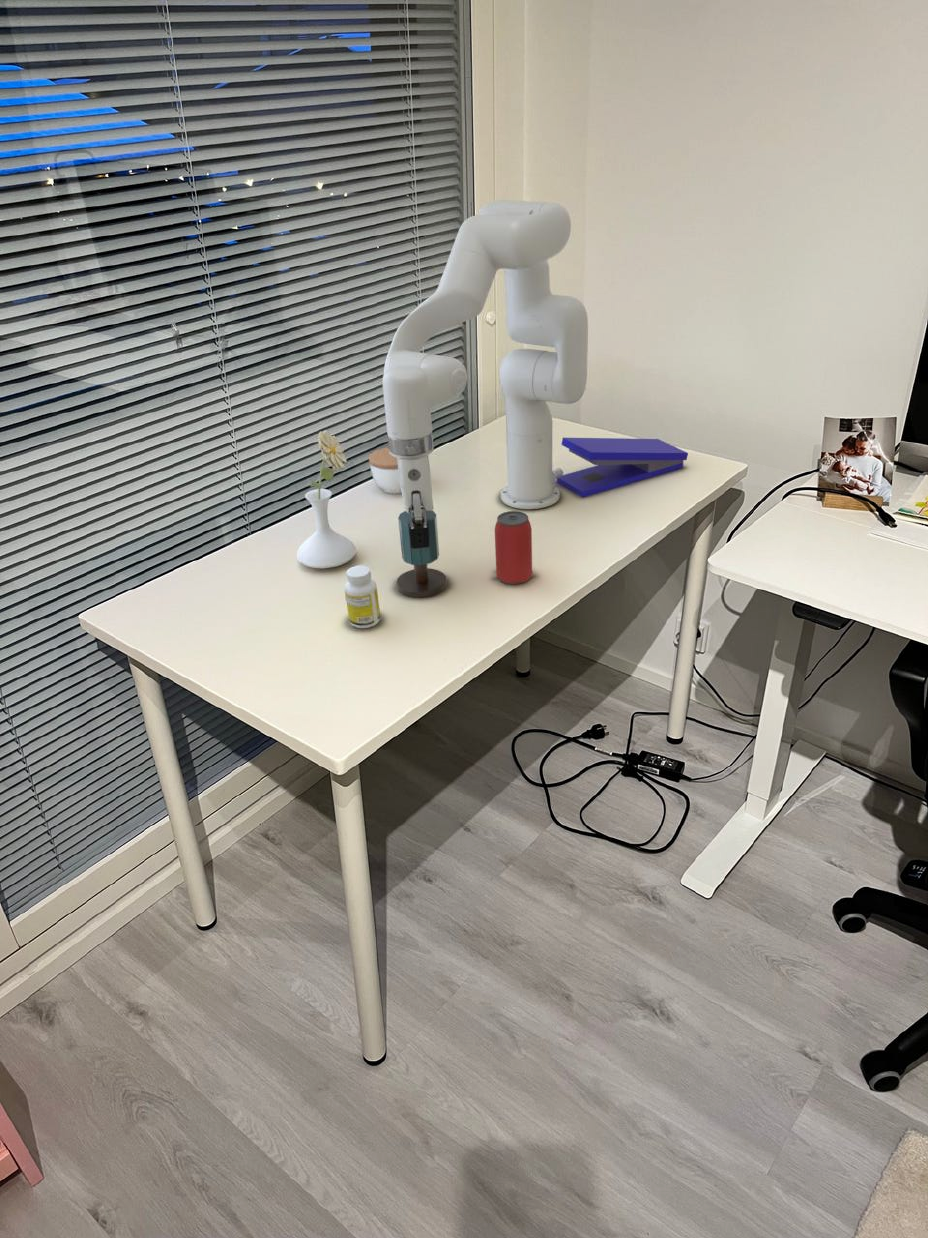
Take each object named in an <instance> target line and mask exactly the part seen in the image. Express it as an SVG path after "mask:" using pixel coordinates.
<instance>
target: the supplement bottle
mask: <svg viewBox="0 0 928 1238" xmlns="http://www.w3.org/2000/svg"><path fill="white" fill-rule="evenodd" d="M346 580H347V581H346V582H345V584H344V595H345V602H346V608H347V609H346V610H347V615H348V621H349V624H350V625H351V626H352V627H354V628H358V629H368V628H371V627H374V626H376V625H377V624H378V623H379V622H380V620H381V611H380V610H381V609H380V603H379V602H380V601H379V593H378V587H377V583H376V580H375V579H373V578H372V572H371V569H370V567H369V566H366V565H355V566H352V567H350V568H348V569H347V571H346Z"/></svg>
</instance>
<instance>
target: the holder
mask: <svg viewBox="0 0 928 1238" xmlns="http://www.w3.org/2000/svg"><path fill="white" fill-rule="evenodd" d="M447 584H448V581H447V576H446V574H445V573H444V572H442V571H441V570H438V569H435V568H429V567H428V564H425V565H413V569H410V570H408V571H405V572H403V573H402V574H400V575H399V576H398V577H397V580H396V586H397V587H396V588H397V590H398V592H399V593H400V594H402V595H404V596H405V597H409V598H410V597H411V598H415V599H416V598H418V599H422V598H423V599H424V598H429V597H433V596H436V595H439V594H440V593H442V592H443V591H444V590H445V589H446V588H447Z"/></svg>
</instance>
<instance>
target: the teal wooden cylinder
mask: <svg viewBox="0 0 928 1238" xmlns="http://www.w3.org/2000/svg"><path fill="white" fill-rule="evenodd" d="M421 509H423V508H421ZM411 510H414V509H411ZM425 510H426V509H425ZM425 513H426V524H427V525H428V532H429V547H426V548H415V549H413V548H411V540H410V529H409V527H411V524H410V514H409V513H407V512H406V511H405V510H404V511H403V512H400V513H399V515H398V518H397V519H398V530H399V540H400V551H401V559H402V560H403V562H404V563H406V564H408V565H411V566H414V565H425V564H427V565H429V564H432V563H434V562H435V561H437V560H438V559H439V557H440V546H439V533H438V519H437V514H436V512H435V511H434V509H433V510H432V511H430V510H429V511H427V510H426V512H425ZM422 517H423V515H422ZM413 518H415V516H414V514H413Z"/></svg>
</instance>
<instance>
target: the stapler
mask: <svg viewBox="0 0 928 1238" xmlns="http://www.w3.org/2000/svg"><path fill="white" fill-rule="evenodd" d="M560 445H561V446H563V447H564V448H567V449H568V452H570V453H572V454H574V455H575V456H577V457H578V458H581V459H583V460H585V461H587V462H588V463H591V464H592V465H593V466H590V467H587V468H583V469H579V470H576V471H573V472H569V473H566V474H563V475H562V476H560V477H559V478H557V479H556V483H557V484H559V485H560V486H562V487H564V488H566V489H567V490H569V491H571V492H573V493H574V494H576V495H577V496H580V497H581V498H587V497H589V496H592V495H596V494H599V493H602V492H606V491H610V490H613V489H616V488H620V487H623V486H626V485H630V484H633V483H637V482H640V481H644V480H647V479H650V478H653V477H657V476H660V475H663V474H667V473H670V472H674V471H677V470H680V469H683V468H684V461H688V456H689V452H687V451H685V450H683V449H681V448H679V447H677V446H674V445H672V444H670V443H667V442H665V441H663V440H661V439H660V438H620V437H619V438H617V437H614V438H613V437H562V439H561V444H560Z"/></svg>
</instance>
